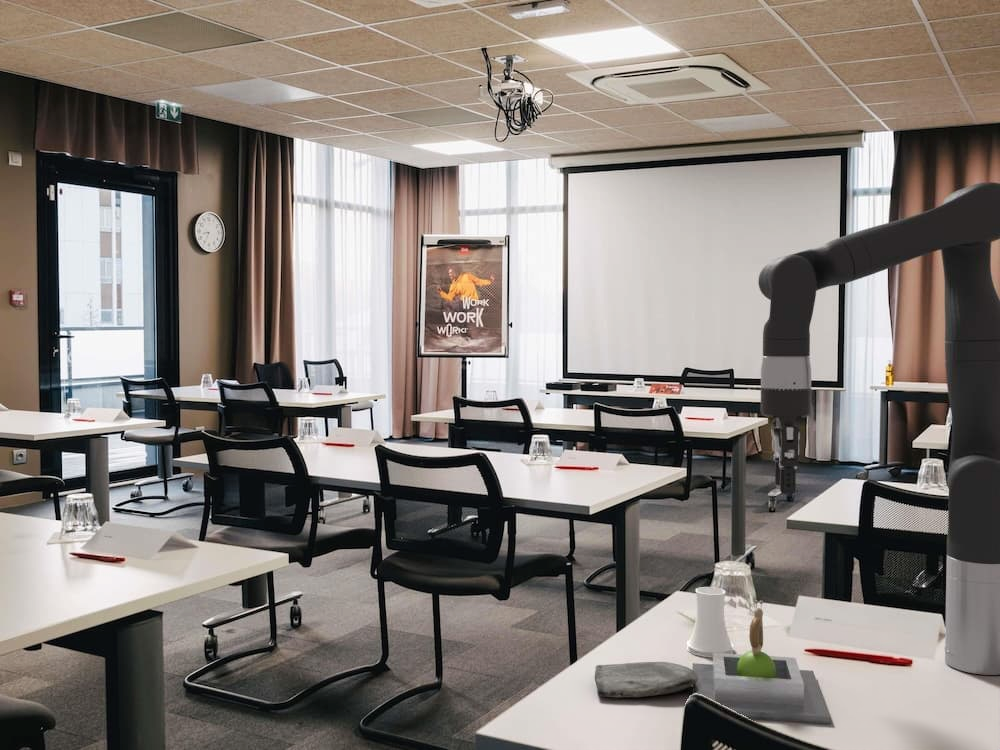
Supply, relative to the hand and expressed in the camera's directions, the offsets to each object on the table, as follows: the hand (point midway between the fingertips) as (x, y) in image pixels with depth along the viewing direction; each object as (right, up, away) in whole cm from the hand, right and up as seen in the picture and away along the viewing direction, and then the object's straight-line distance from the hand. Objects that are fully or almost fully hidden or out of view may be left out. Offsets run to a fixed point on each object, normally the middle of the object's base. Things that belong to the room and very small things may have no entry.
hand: (784, 489), depth 149 cm
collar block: (-7, -29, -11) cm, 31 cm away
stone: (-23, -29, -8) cm, 38 cm away
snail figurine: (-7, -28, -10) cm, 30 cm away
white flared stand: (-10, -28, +9) cm, 31 cm away
